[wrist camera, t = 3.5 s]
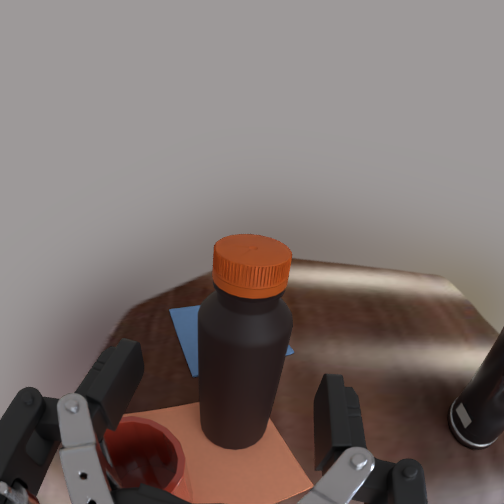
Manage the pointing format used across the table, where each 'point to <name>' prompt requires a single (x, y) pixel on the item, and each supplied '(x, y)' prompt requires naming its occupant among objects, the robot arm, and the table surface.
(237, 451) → the terracotta mat
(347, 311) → the table surface
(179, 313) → the blue mat
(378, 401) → the table surface
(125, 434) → the red cup
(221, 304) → the bottle
